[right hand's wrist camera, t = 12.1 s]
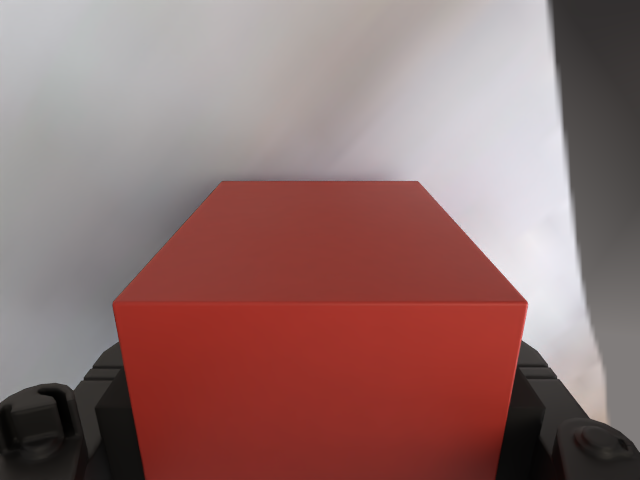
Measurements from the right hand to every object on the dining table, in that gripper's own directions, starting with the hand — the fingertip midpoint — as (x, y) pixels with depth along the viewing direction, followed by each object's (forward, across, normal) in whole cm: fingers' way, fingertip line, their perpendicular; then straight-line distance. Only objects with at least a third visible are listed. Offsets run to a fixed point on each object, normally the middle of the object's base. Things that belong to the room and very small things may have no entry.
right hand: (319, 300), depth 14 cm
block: (+2, 0, 0) cm, 2 cm away
